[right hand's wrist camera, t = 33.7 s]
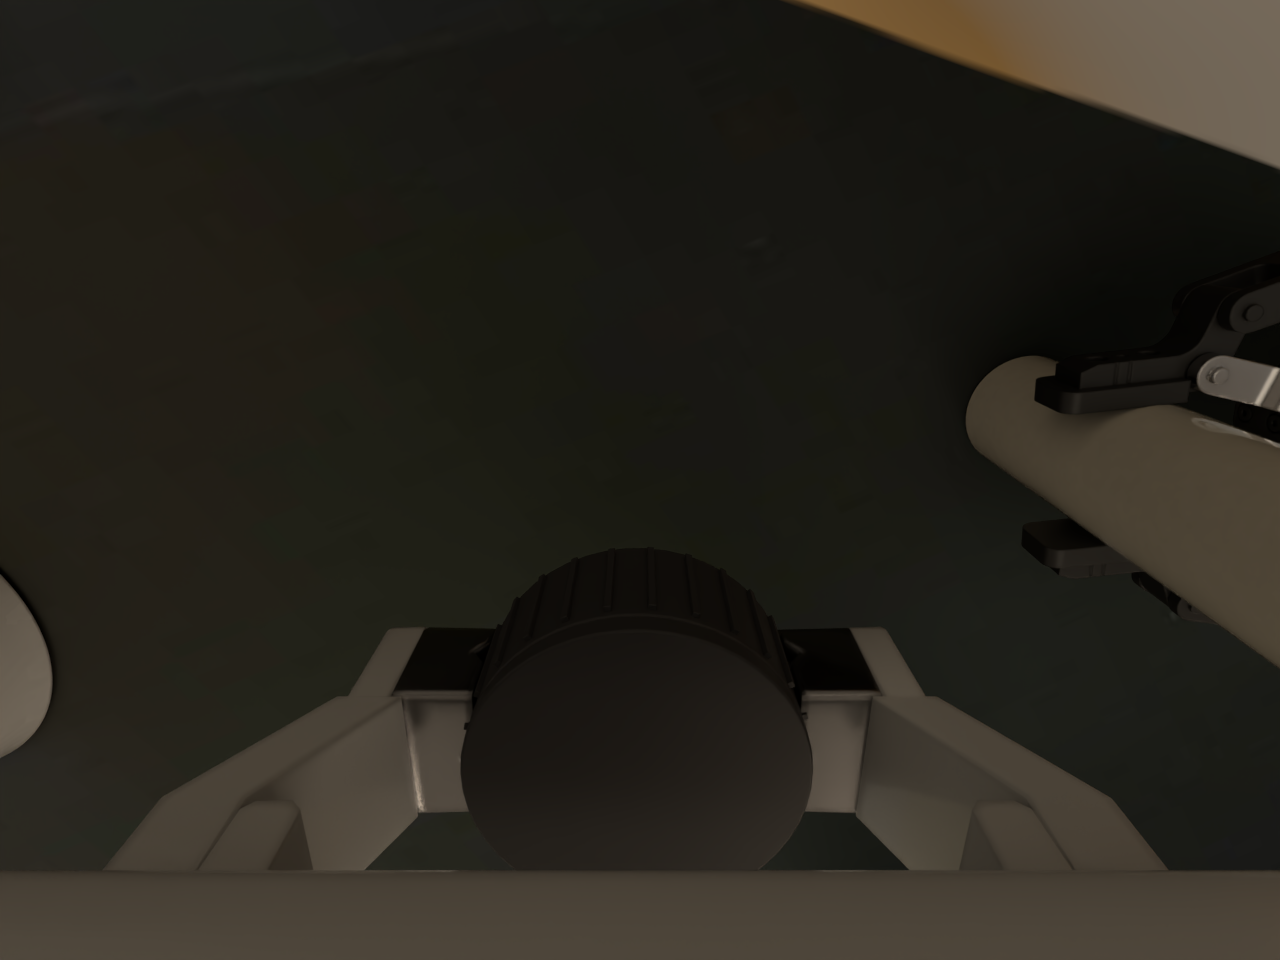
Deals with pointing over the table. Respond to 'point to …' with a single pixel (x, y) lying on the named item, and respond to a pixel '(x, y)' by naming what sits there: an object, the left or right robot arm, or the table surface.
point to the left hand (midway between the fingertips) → (1042, 474)
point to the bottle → (1150, 492)
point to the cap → (636, 722)
